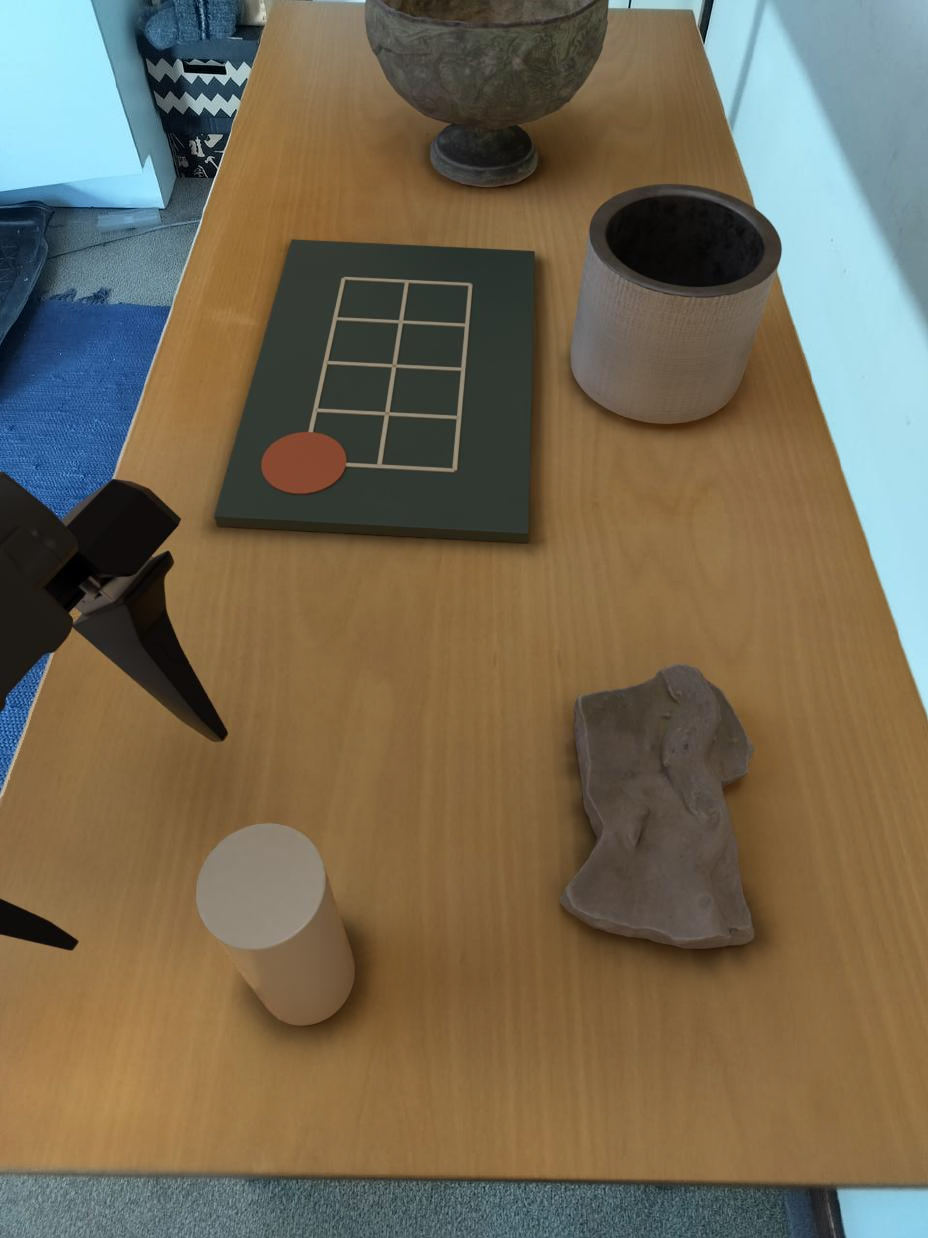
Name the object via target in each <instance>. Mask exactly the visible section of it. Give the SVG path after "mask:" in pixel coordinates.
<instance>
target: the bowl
mask: <svg viewBox="0 0 928 1238" xmlns="http://www.w3.org/2000/svg"><path fill="white" fill-rule="evenodd" d="M609 4H610V0H365V2H364V24H365V25H364V26H365V34H366V38H367V40H368V44H369V47H370V50H371V51H372V53H373V54H374V55H375V57H376V59H377V61H378V63H379V65H380V67H381V70H382V72H383V74H384V76H385V79H386V80H387V81H388V83H389V84H390V86H391V87H392V89H393V90H394V92H396V94H398V96H400V97H401V98H402V99H403V100H404V101H405V102H406V103H408V104H409V105H410V106H411V107H412V108H413V109H414V110H416V111H418V112H419V113H420V114H422V115H424V116H425V117H427V118H429V119H432V120H435V121H438V122H441V123H444V124H449V125H446V126H445V127H444V128H442V129H441V130H439V132H438V133H437V134H436V136H435V137H434V138H433V140H432V142H431V145H430V151H429V154H430V155H429V159H430V162H431V165H432V166H433V168H434V169H435V171H437V173H439V175H441V176H443V177H445V178H446V179H449V180H451V181H452V182H455V183H458V184H462V185H468V186H471V187H472V186H473V187H480V188H495V187H502V186H507V185H514V184H517V183H519V182H521V181H523V180H524V179H527V178H528V177H529V176H531V175H532V174H533V173H534V172H535V171H536V168H537V166H538V161H539V154H538V150H537V147H536V144H535V142H534V141H533V139H532V137H531V136H530V135H529V133H528V132H527V131H526V130H524V129H523V128H522V127H520V126H521V125H523V124H527V123H531V122H534V121H538V120H540V119H542V118H543V117H544V118H545V117H546V116H548V115H551V114H553V113H555V112H558V111H559V110H560V109H562V108H563V107H564V106H565V105H566V104H568V103H570V102H571V100H572V99H573V97H575V95H576V94H577V93H578V92H579V90H580V89H581V88H582V87H583V86H584V84H585V83H586V81H587V80H588V77H589V76H590V75H591V73H592V71H593V69H594V67H595V65H596V64H597V62H598V61H599V59H600V56H601V54H602V51H603V49H604V42H605V38H606V35H607V30H608V25H609V23H608V22H609V21H608V13H609V7H610V6H609Z"/></svg>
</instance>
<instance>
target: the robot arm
mask: <svg viewBox="0 0 928 1238" xmlns="http://www.w3.org/2000/svg"><path fill="white" fill-rule="evenodd" d="M181 520H182V518H181V517H180V516H179V515H178V514H177V513H176V512H175V511H174V510H173V509H172V508H170V507H169V505H167V504H166V502H164V501H163V500H162V499H161V498H160V497H159V496H158V495H157V494H155V492H154V491H153V490H151V489H150V488H149V487H146V486H144V485H141V484H139V483H137V482H134V481H132V480H124V479H118V478H117V479H116V478H112V479H110V480H109V481H108V482H106V483H105V484H103V485H101V487H99V488H97V490H95V491H94V492H93V493H92V492H91V494H90V495H88V496H87V497H86V498H84V499H82V500H81V501H80V502H79V503H77V504H76V505H74V506H73V507H72V509H70V510H69V512H67V513H66V514H65V516H64V517H63V518H62V519H60V518H59V517H58V516H57V514H56V513H54V511H53V510H52V509H50V508H49V507H48V506H47V505H46V504H45V503H43V502H42V501H41V500H39V498H37V497H36V496H35V495H34V494H33V493H31V492H30V491H28V489H26V488H25V487H23V486H22V485H21V484H19V483H18V482H17V481H16V480H14V478H12V477H11V476H10V475H9V474H8V473H6V472H5V471H0V714H1V713H2V712H3V711H4V710H5V709H6V705H7V697H8V696H9V694H10V693H11V692H12V691H13V690H14V689H15V688H16V687H17V685H18V684H19V683H20V682H21V681H22V680H23V679H24V678H25V677H26V676H27V675H28V673H29V672H30V671H31V670H32V669H33V668H34V667H35V666H36V664H37V663H38V662H39V661H40V660H41V659H42V658H43V656H45V655H47V654H54V653H55V652H57V651H58V650H59V648H60V647H62V645H63V644H64V643H65V641H66V640H67V639H68V637H69V636H70V634H71V632H72V630H74V631H76V632H77V633H78V634H79V635H81V636H82V637H83V638H84V639H85V640H86V641H88V642H89V644H91V645H92V646H93V647H95V648H96V650H98V651H99V652H100V653H102V654H103V655H104V656H105V657H106V658H107V659H109V660H110V662H112V663H113V664H114V665H115V666H116V667H118V668H119V669H120V670H121V671H122V672H124V673H125V674H126V675H127V676H128V677H129V678H131V679H132V680H133V681H134V682H135V683H137V685H138V686H139V687H141V688H142V689H143V690H144V691H145V692H147V693H148V694H149V695H150V696H151V697H152V698H154V700H156V701H157V702H158V703H160V704H161V705H162V706H163V707H164V708H165V709H166V710H168V711H169V712H170V713H171V714H172V715H173V716H175V717H176V718H177V719H178V720H179V721H181V722H182V723H183V724H185V725H186V726H187V727H190V729H192V730H194V731H196V733H199V734H200V735H201V736H203V737H204V738H206V739H208V740H209V741H210V742H212V743H221V742H222V743H223V742H224V741H225V740H226V739H227V737H228V735H229V732H228V729H227V728H226V725H225V724H224V722H223V720H222V718H221V717H220V715H219V713H218V711H217V709H216V707H215V706H214V703H213V702H212V701H211V698H210V696H208V693H207V691H206V689H205V688H204V686H203V684H202V682H201V680H200V679H199V677H198V675H197V674H196V672H195V670H194V668H193V666H192V664H191V663H190V661H189V659H188V658H187V655H186V653H185V652H184V650H183V648H182V645H181V643H180V641H179V638H178V636H177V634H176V630H175V629H174V626H173V624H172V621H171V618H170V617H169V613H168V610H167V609H168V608H167V599H166V598H167V597H166V587H165V585H166V584H165V579H166V576H167V574H168V573H169V572H170V571H171V569H172V568H173V567H174V565H175V560H174V557H173V555H172V553H171V551H170V550H166V551H164V552H162V553H160V554H158V555H156V556H153V555H154V554H155V553H156V552H157V551H158V550H159V549H160V547H161V546H162V545H163V544H164V543H165V542H166V541H167V540H168V538H169V537H170V536H171V535H172V534H173V533H174V531H176V529H178V527H179V526H180V523H181ZM73 609H76V610H77V611H78V612H80V613H81V614H80V615H79V616H78V618H77V619H76V620H75V621H74V618H73V616H72V615H71V614H70V613H71V612H72V611H73ZM0 935H1V936H4V937H8V938H13V939H17V940H22V941H26V942H30V943H35V944H39V945H43V946H48V947H51V948H56V949H61V950H65V951H70V952H73V951H74V950H75V948H76V947H77V946H78V944H79V942H80V941H79V939H77V938H76V937H75V936H73V935H71V934H70V933H68V932H67V931H65V930H64V929H63V928H61V927H60V926H58V925H57V924H55V923H53V922H52V921H50V920H48V919H47V918H45V917H42V916H40V915H38V914H36V913H35V912H34V913H33V912H32V911H29V910H27V909H25V908H23V907H20V906H18V905H17V904H14V903H12V902H9V901H8V900H5V899H3V898H0Z"/></svg>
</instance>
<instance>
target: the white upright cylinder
mask: <svg viewBox="0 0 928 1238" xmlns="http://www.w3.org/2000/svg"><path fill="white" fill-rule="evenodd" d="M195 902H196V903H195V904H196V908H197V912H198V915H199V917H200V920H201V922H202V923H203V925H204V926H205V928H206V929H207V931H208V932H209V934H210V935H211V936H212V938H213V939H214V940H215V942H216V943H217V944H218V946H219V947H220V948H221V950H222V951H223V953H225V955H226V956H227V958H228V959H229V960H230V962H231V963H232V964H233V965H234V966H235V968H236V970H237V971H238V972H239V974H240V975H241V976H242V978H243V979H244V980H245V982H246V984H247V985H248V986H249V987H250V989H251V990H252V992H253V993H254V994H255V995H256V997H257V998H258V999H259V1000H260V1002H261V1003H262V1005H263V1006H264V1007H265V1008H266V1010H267V1011H268V1012H269V1013H270V1014H271V1015H272V1016H273V1017H274V1018H276V1019H277V1020H279V1021H281V1022H283V1023H285V1024H288V1025H292V1026H300V1027H301V1026H311V1025H316V1024H319V1023H321V1022H324V1021H325V1020H327V1019H329V1018H330V1017H332V1016H334V1014H336V1013H337V1012H338V1011H339V1010H340V1009H341V1008H342V1006H343V1005H344V1004H345V1003H346V1001H347V1000H348V998H349V996H350V994H351V992H352V990H353V987H354V983H355V979H356V962H355V958H354V954H353V951H352V948H351V944H350V942H349V938H348V935H347V931H346V929H345V926H344V922H343V920H342V916H341V914H340V911H339V907H338V904H337V900H336V897H335V894H334V891H333V888H332V885H331V882H330V879H329V875H328V872H327V869H326V866H325V863H324V860H323V858H322V855H321V853H320V850H319V849H318V848H317V846H316V845H315V844H314V842H313V841H312V840H311V839H310V838H309V837H308V836H306V834H304V833H303V832H301V831H299V830H298V829H296V828H294V827H291V826H289V825H286V824H282V823H275V822H262V823H255V824H251V825H247V826H245V827H241V828H240V829H239V828H238V829H237V830H235V831H234V832H231V833H230V834H228V835H227V836H225V837H224V838H223V839H222V840H221V841H219V843H218V844H216V845H215V847H214V848H212V850H211V851H210V852H209V854H208V855H207V857H206V858H205V860H204V862H203V863H202V865H201V868H200V870H199V873H198V876H197V880H196V885H195Z"/></svg>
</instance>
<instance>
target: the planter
mask: <svg viewBox="0 0 928 1238" xmlns="http://www.w3.org/2000/svg"><path fill="white" fill-rule="evenodd" d="M782 251H783V245H782V240H781V237H780V235H779V232H778V230H777V229H776V227H775V226H774V224H773V223H772V222H771V221H770V219H768V218H767V216H766V215H765V214H763V213H762V212H761V211H759V210H758V209H756V208H755V207H754V206H753V205H751V204H750V203H748V202H746V201H745V200H742V199H741V198H738V197H736V196H734V195H732V194H728V193H726V192H723V191H720V190H717V189H713V188H709V187H706V186H700V185H693V184H684V183H656V184H649V185H648V184H647V185H643V186H637V187H634V188H630V189H628V190H625V191H622V192H620V193H618V194H616V195H614V196H612V197H611V198H608V199H607V200H606V201H605V202H603V203H602V205H600V206H599V207H598V208H597V210H595V212H594V214H593V216H592V218H591V220H590V223H589V227H588V234H587V242H586V248H585V253H584V254H585V255H584V262H583V269H582V273H581V281H580V286H579V293H578V300H577V306H576V311H575V317H574V324H573V330H572V337H571V344H570V353H569V355H570V367H571V371H572V374H573V377H574V379H575V380H576V382H577V384H578V385H579V387H580V388H581V389H582V390H583V392H584V393H585V394H586V395H587V396H588V397H589V398H590V399H592V400H593V401H594V402H596V404H598V405H600V406H602V407H603V408H605V409H606V410H608V411H610V412H612V413H615V414H616V415H619V416H621V417H624V418H627V419H630V420H633V421H638V422H641V423H647V424H660V425H661V424H662V425H663V424H665V425H672V424H673V425H674V424H683V423H690V422H693V421H697V420H701V419H704V418H706V417H708V416H710V415H712V414H715V413H716V412H718V411H720V410H721V409H723V408H724V406H726V405H727V404H728V403H730V401H731V400H732V399H733V397H734V396H735V394H736V392H737V390H738V389H739V387H740V385H741V382H742V380H743V377H744V374H745V372H746V371H745V370H746V367H747V364H748V361H749V359H750V356H751V352H752V349H753V345H754V342H755V340H756V337H757V333H758V329H759V327H760V323H761V321H762V317H763V314H764V311H765V308H766V305H767V302H768V298H769V295H770V293H771V289H772V287H773V284H774V280H775V277H776V274H777V271H778V269H779V266H780V263H781V258H782V253H783V252H782Z"/></svg>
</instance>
